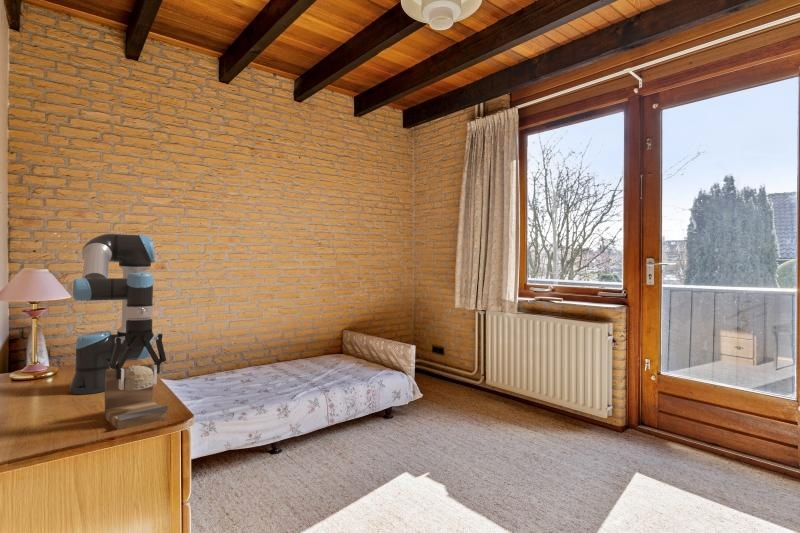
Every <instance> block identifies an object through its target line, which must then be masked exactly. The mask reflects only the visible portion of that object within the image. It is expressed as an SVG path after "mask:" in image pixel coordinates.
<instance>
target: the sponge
mask: <svg viewBox="0 0 800 533" xmlns="http://www.w3.org/2000/svg"><path fill="white" fill-rule="evenodd" d="M140 365H141V364H138V365H137V364H135V363H134V364H132V365H129V366H126V367H127V368H126V369H125V371H124V390H139V389H145V388H148V387H152V386H153V387H154V385H155V384H154V372H153V371H152V369H150V368H148V367H145V366H140Z"/></svg>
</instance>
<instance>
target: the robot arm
mask: <svg viewBox="0 0 800 533" xmlns="http://www.w3.org/2000/svg"><path fill="white" fill-rule="evenodd" d="M155 255H156V254H155V247H154V242H153V239H152V237H150V236H149V235H142V234H121V233H104V234H100V235H98V236H96V237H94V238H92V239H89V241H87V242H86V244H85V245H84V246H83V247H82V251H81V257H82V259H83V261H84V262H83V267H82V268H83V269H82V276H81V277H77V278H74V280H73V281H72V282H73V284H72V299H73V300H75V301H83V302H84V301H86V302H89V301H90V302H91V301H122V303H121V326H119V328H117V331H116V333H115V334H112V332H111V330H105V331H95V332H90V333H85V334H82V335H80V336H78V337H77V338H76V343H75V348H74V349H75V369H74V375H73V377H72V380H71V382H70V385H69V388H68V389H69V391H68V392H69V393H70V394H72V395H89V394H90V395H91V394H97V393H101V392H102V393H103V392H105V370H107V369H115V370H116V372H115V378H116V379H117V380H119V389H120V390H124V369H122V367H124V365H125V363H126V362H129V361H138V360H139V361H140V360H145V359H148V358H149V356H150V357H151V359H152V360H153V362H154V363H152V371H153V372H154V385H157V383H158V380H157V379H158V374H160V372H161V366H160V365H161V364H162V363H165V362H166V361H167V356H166V353H165V349H164V345H163V341H162V340H163V334H162V333H159V332H157V333H154V332H153V308H154V306H153V305H154V303H153V299H154V297H153V296H154V283H155V282H154V275H153V273H150V272H148V270H149V269H151V267H152V265H151V264H153V263H155V262H156V256H155ZM109 262H114V263H118V267H119V268H120V269H121V270H122V277H121V278H118V277H117V278H113V277H112V278H110V277H109ZM153 340H155V344H156V348H157V353H158V355H157V353H156V352H155V349H154V348H153V346H152V345H153Z"/></svg>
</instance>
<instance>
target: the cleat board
mask: <svg viewBox="0 0 800 533" xmlns="http://www.w3.org/2000/svg"><path fill="white" fill-rule="evenodd" d="M152 364H153V363H146V364H145V363H143V364H139V365H140V366H145V367H148V368H150V369H152ZM127 367H128V366H123V367H122V369H124V371H125V369H126V368H127ZM115 372H116V370H115V369H112V368H110V369H107V370H105V391H104V415H103V417H104V418H105V420H107V421H108V422H109V423H110V424H111V425H112V426H114V428H115V429H116V430H117V431H118V430H122V429H127V428H131V427H136V426H140V425H144V424H149V423H153V422H157V421H161V420H166V419H167V413H168V412H167V411H168V410H169V406H168V405H167V404H166V405H160V404H159V403H157V402H155V401H154V400H153V398H154V397H153V389H154V388H153V387H154V385H153V386H152V387H148V388H145V389H139V390H120V389H119V380H117V379H116V378H115Z"/></svg>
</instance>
